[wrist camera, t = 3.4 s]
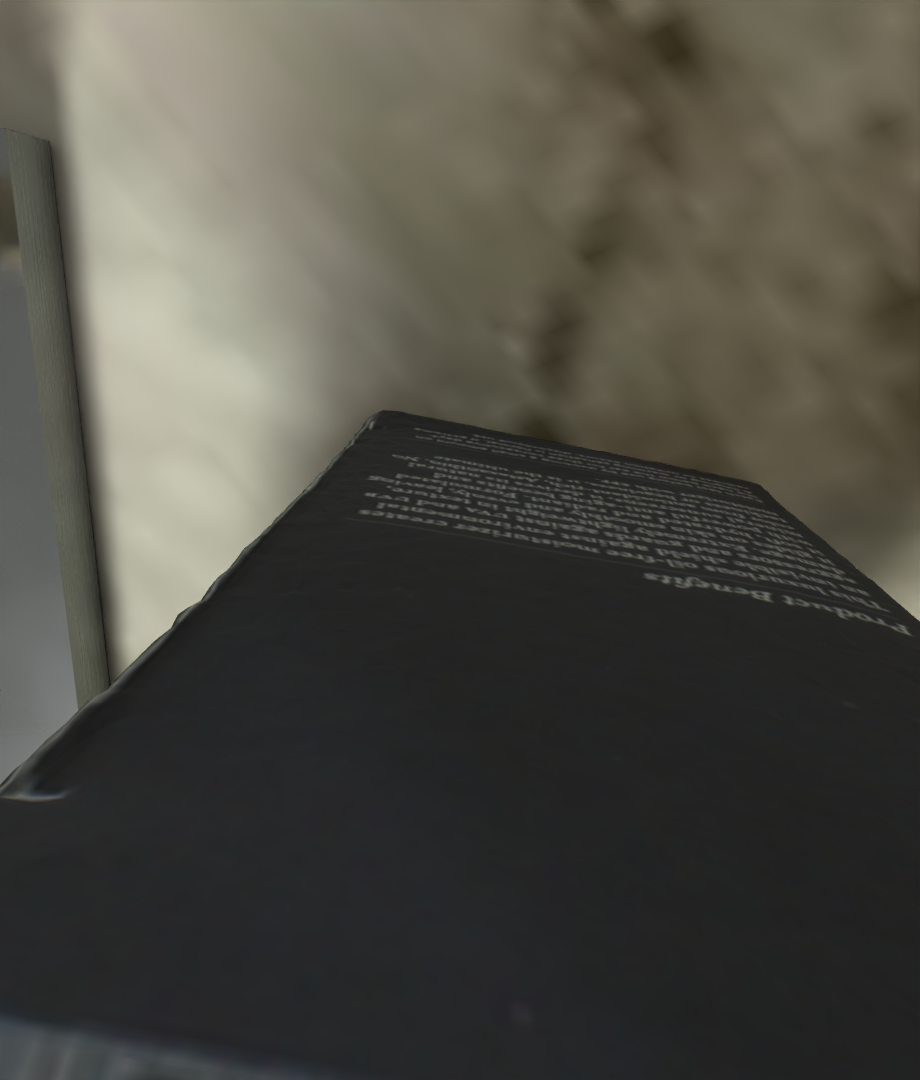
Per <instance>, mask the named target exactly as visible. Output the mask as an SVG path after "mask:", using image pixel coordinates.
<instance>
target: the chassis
mask: <svg viewBox="0 0 920 1080" xmlns="http://www.w3.org/2000/svg"><path fill="white" fill-rule="evenodd" d="M109 686H110V684H109V675H108V666H107V657H106V648H105V639H104V630H103V621H102V612H101V603H100V594H99V585H98V576H97V567H96V558H95V549H94V540H93V531H92V522H91V513H90V503H89V494H88V485H87V476H86V467H85V458H84V449H83V440H82V431H81V422H80V413H79V404H78V395H77V386H76V377H75V368H74V359H73V350H72V341H71V332H70V323H69V314H68V305H67V296H66V287H65V278H64V269H63V259H62V250H61V241H60V232H59V223H58V214H57V205H56V196H55V187H54V178H53V169H52V160H51V151H50V142H49V141H46V140H43V139H40V138H36V137H33V136H29V135H26V134H22V133H19V132H15V131H12V130H9V129H5V128H0V784H1V783H2V782H3V781H4V780H5V779H6V778H7V777H8V776H9V775H10V774H11V773H12V772H13V770H14V769H16V768H17V767H18V766H20V765H21V764H22V763H23V762H25V761H26V760H27V759H28V758H29V757H30V756H31V755H32V754H33V753H34V752H35V751H36V750H37V749H38V748H39V747H40V746H41V745H42V744H43V743H44V742H45V741H46V740H47V739H48V738H49V737H50V736H52V735H53V734H54V733H55V732H56V731H57V730H59V729H60V728H61V727H62V726H63V725H64V724H66V723H67V722H68V721H69V720H70V719H71V718H72V717H73V716H74V715H75V714H76V713H77V712H78V711H79V710H80V709H81V708H82V707H83V705H84V704H85V703H86V702H87V701H89V700H91V699H92V698H94V697H96V696H98V695H99V694H101V693H103V692H105V691H106V690H107V688H108V687H109Z"/></svg>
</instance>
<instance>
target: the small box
mask: <svg viewBox="0 0 920 1080" xmlns="http://www.w3.org/2000/svg"><path fill="white" fill-rule="evenodd" d="M0 1080H920V621H919V620H917V619H916V618H915V617H914V616H912V615H911V614H910V613H909V612H908V611H907V610H905V609H904V608H903V607H902V606H901V605H899V604H898V603H897V602H896V601H895V600H894V599H892V598H891V597H890V596H889V595H888V594H887V593H886V592H885V591H884V590H882V589H881V588H880V587H879V586H878V585H877V584H876V583H875V582H873V581H872V580H870V579H869V578H867V577H866V576H865V575H864V574H863V573H861V572H860V571H859V570H858V569H856V568H855V567H854V566H853V565H852V564H851V563H850V562H849V561H848V560H847V559H846V558H844V557H843V556H841V555H840V554H838V553H837V552H836V551H835V550H834V549H833V548H832V547H831V546H829V545H828V544H827V543H826V542H825V541H824V540H823V539H822V538H820V537H819V536H818V535H817V534H815V533H814V532H812V531H811V530H810V529H809V528H808V527H807V526H805V525H804V524H803V523H802V522H801V521H799V520H798V519H797V518H796V517H795V516H794V515H793V514H791V513H790V512H788V511H787V510H786V509H785V508H784V507H783V506H782V505H780V504H779V503H778V502H777V501H776V500H775V499H774V498H773V497H772V496H771V495H770V494H769V493H768V492H767V491H766V490H765V489H764V488H762V487H761V486H760V485H758V484H754V483H751V482H747V481H743V480H738V479H733V478H728V477H722V476H718V475H714V474H709V473H703V472H699V471H696V470H691V469H685V468H680V467H676V466H672V465H667V464H663V463H659V462H650V461H643V460H639V459H636V458H630V457H626V456H621V455H617V454H612V453H607V452H601V451H594V450H589V449H585V448H581V447H576V446H571V445H565V444H560V443H555V442H549V441H544V440H539V439H534V438H530V437H524V436H517V435H512V434H507V433H502V432H497V431H491V430H486V429H482V428H478V427H474V426H469V425H464V424H458V423H453V422H448V421H443V420H438V419H433V418H427V417H422V416H416V415H411V414H407V413H403V412H397V411H385V410H383V411H380V412H378V413H377V414H375V415H373V416H371V417H369V419H368V420H367V421H366V422H365V423H364V425H363V427H362V429H361V430H360V431H359V432H358V433H357V434H355V436H354V438H353V440H351V441H350V443H349V444H348V446H346V447H345V448H344V450H343V451H342V452H341V453H340V454H339V455H338V456H336V457H335V458H334V459H333V461H332V462H331V463H330V465H329V466H328V468H327V469H326V471H324V472H323V473H320V474H319V475H318V476H317V477H316V478H315V480H314V481H313V482H312V483H311V484H310V485H309V486H308V487H307V488H306V489H305V490H304V491H303V493H302V494H300V495H299V496H298V497H297V498H296V499H295V500H294V501H293V502H292V503H291V504H290V505H289V506H288V507H287V508H286V510H285V511H284V512H283V513H281V514H280V515H279V516H278V517H277V518H276V519H275V520H274V522H273V523H272V525H270V526H269V527H268V528H267V529H266V530H265V531H264V532H263V533H262V534H261V535H260V536H259V537H258V538H257V539H256V540H254V541H253V542H252V543H251V544H249V545H248V546H247V547H246V548H244V550H243V551H242V552H241V554H240V555H239V556H238V558H237V559H236V560H235V562H234V563H233V564H232V565H231V567H230V568H229V569H228V570H227V571H226V572H224V573H223V574H222V575H220V576H219V577H218V578H217V579H216V580H215V582H214V583H213V584H212V585H211V587H210V588H209V589H208V591H207V592H206V594H205V595H204V597H203V598H202V600H201V601H200V602H198V603H196V604H194V605H192V606H190V607H188V608H187V609H185V610H184V611H182V612H181V613H180V614H178V616H177V618H176V619H175V621H174V623H173V626H172V628H171V629H169V630H168V631H167V632H166V633H164V634H163V635H162V636H160V637H159V638H158V639H157V640H155V641H154V642H153V643H152V644H151V645H150V646H149V647H148V648H147V649H146V650H145V651H144V652H143V653H142V654H141V655H140V656H139V657H138V658H137V659H136V660H135V661H134V662H133V663H132V664H131V665H130V666H129V667H128V668H127V669H126V670H125V671H124V672H123V673H122V674H121V675H120V676H119V677H118V678H117V679H116V680H115V681H114V682H113V683H112V684H111V685H110V686H109V687H108V688H107V690H106V691H105V692H103V693H101V694H99V695H98V696H96V697H94V698H92V699H91V700H89V701H87V702H86V703H85V704H84V705H83V707H82V708H81V709H80V710H79V711H78V712H77V713H76V714H75V715H74V716H73V717H72V718H71V719H70V720H69V721H68V722H67V723H66V724H64V725H63V726H62V727H61V728H60V729H59V730H57V731H56V732H55V733H54V734H53V735H52V736H50V737H49V738H48V739H47V740H46V741H45V742H44V743H43V744H42V745H41V746H40V747H39V748H38V749H37V750H36V751H35V752H34V753H33V754H32V755H31V756H30V757H29V758H28V759H27V760H26V761H25V762H23V763H22V764H21V765H20V766H18V767H17V768H16V769H14V770H13V772H12V773H11V774H10V775H9V776H8V777H7V778H6V779H5V780H4V781H3V782H2V783H1V784H0Z"/></svg>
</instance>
